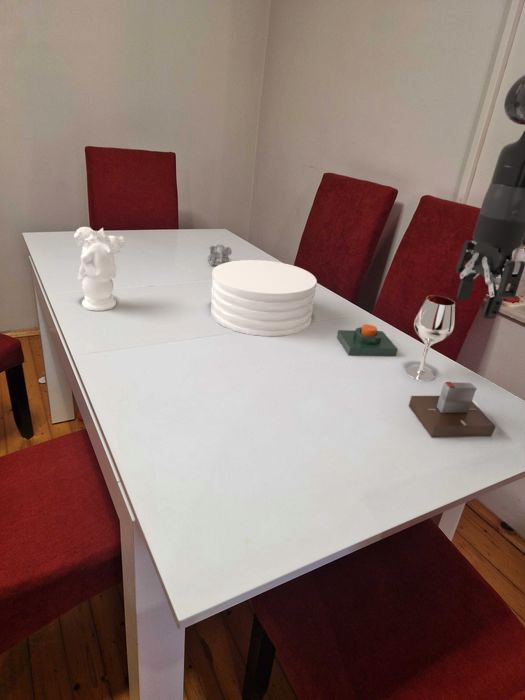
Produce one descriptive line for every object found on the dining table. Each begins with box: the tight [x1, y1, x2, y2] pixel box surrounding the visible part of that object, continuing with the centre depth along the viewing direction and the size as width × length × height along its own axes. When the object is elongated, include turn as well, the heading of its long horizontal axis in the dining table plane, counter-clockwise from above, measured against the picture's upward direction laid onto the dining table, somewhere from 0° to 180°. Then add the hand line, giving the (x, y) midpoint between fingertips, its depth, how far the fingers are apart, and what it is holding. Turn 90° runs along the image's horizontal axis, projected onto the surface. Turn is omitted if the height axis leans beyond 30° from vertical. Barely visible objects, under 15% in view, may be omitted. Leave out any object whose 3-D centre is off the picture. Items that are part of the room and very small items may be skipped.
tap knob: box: [437, 381, 477, 413], centre depth 85 cm, size 6×2×6 cm, turn 98°
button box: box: [336, 326, 398, 357], centre depth 112 cm, size 12×10×4 cm
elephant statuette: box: [207, 244, 233, 266], centre depth 162 cm, size 9×12×8 cm
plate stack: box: [210, 259, 318, 337], centre depth 124 cm, size 28×28×12 cm
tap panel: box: [408, 395, 497, 438], centre depth 87 cm, size 12×10×3 cm
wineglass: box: [405, 294, 456, 382], centre depth 99 cm, size 8×8×18 cm
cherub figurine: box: [73, 226, 126, 312], centre depth 118 cm, size 12×12×22 cm
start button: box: [361, 323, 378, 336], centre depth 111 cm, size 4×4×2 cm
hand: (474, 308), depth 80 cm, fingers open, 8 cm apart
